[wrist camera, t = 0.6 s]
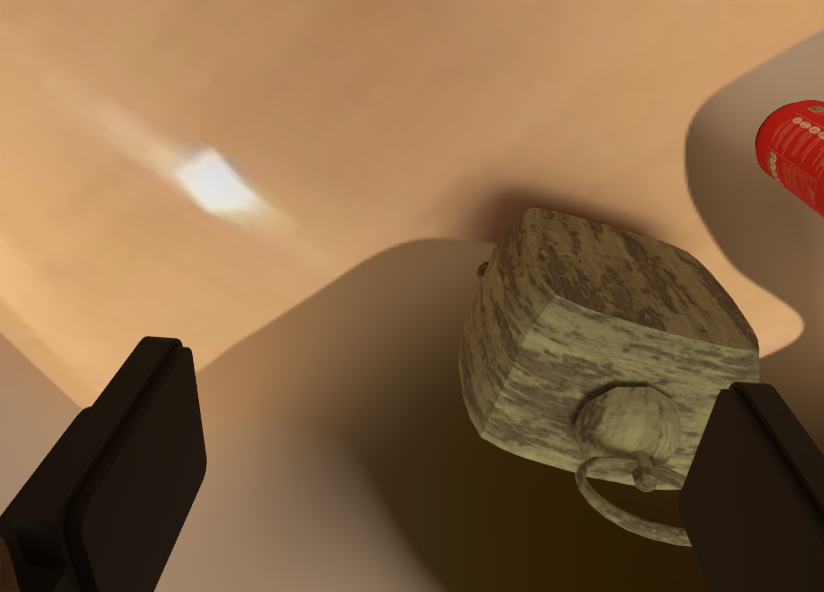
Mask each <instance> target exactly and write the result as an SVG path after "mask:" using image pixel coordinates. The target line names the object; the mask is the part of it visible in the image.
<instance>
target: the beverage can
mask: <svg viewBox="0 0 824 592" xmlns="http://www.w3.org/2000/svg"><path fill="white" fill-rule="evenodd" d="M755 145H756V155H757V160H758V163H759V165H760V166H761V168H762V169H763V170H764V171H765V172H766V173H767V174H768V175H770V176H771V177H772V178H773V179H775V180H776V181H777V182H779V183H780V184H781V185H782V186H784V187H785V188H786V189H788V190H789V191H790V192H791V193H793V194H794V195H795V196H797V197H798V198H799V199H801V200H802V201H803V202H804V203H806V204H807V205H808V206H809V207H811V208H812V209H813V210H815V211H816V212H817V213H818V214H820V215H821V216H822V217H824V102H821V101H816V100H808V101H807V100H806V101H800V102H796V103H792V104H788V105H785V106H783V107H781V108H779V109H777V110H776V111H774V112H773V113H772V114H771V115H769V116H768V117H767V119H766V120H765V121H764V122H763V123H762V125H761V127H760V128H759V130H758V133H757V136H756V142H755Z"/></svg>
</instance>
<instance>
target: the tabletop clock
mask: <svg viewBox="0 0 824 592" xmlns="http://www.w3.org/2000/svg"><path fill="white" fill-rule="evenodd" d="M477 274H478V277H479V279H480V280H481V281H482V282H481V284H480V287H479V289H478V292H477V295H476V297H475V300H474V302H473V305H472V307H471V310H470V313H469V315H468V318H467V320H466V323H465V326H464V328H463V331H462V335H461V342H460V353H459V371H460V377H461V384H462V391H463V397H464V401H465V404H466V408H467V411H468V413H469V416H470V419H471V421H472V422H473V424H474V426H475V427H476V429H477V431H478V433H479V435H480V436H481V437H482V438H484V439H486V440H487V441H489V442H491V443H493V444H495V445H496V446H498V447H500V448H502V449H504V450H506V451H509V452H511V453H514V454H516V455H519V456H521V457H524V458H527V459H531V460H534V461H537V462H541V463H544V464H547V465H550V466H554V467H558V468H561V469H564V470H568V471H571V472H574V473H575V477H576V482H577V485H578V487H579V489H580V491H581V493H582V494H583V496H584V497H585V499H586V500H587V501H588V503H589V504H590V505H592V506H593V507H594V508H595V509H596V510H597V511H598V512H600V513H601V514H602V515H603V516H604V517H605V518H607V519H609V520H610V521H612V522H614V523H615V524H617V525H619V526H621V527H622V528H624V529H626V530H628V531H631V532H633V533H636V534H639V535H641V536H644V537H647V538H649V539H653V540H657V541H662V542H666V543H670V544H674V545H683V546H691V544H690V541H689V539H688V536H687V534H686V531H685V529H680V528H675V527H671V526H667V525H662V524H658V523H654V522H651V521H648V520H645V519H642V518H639V517H636V516H633V515H631V514H629V513H627V512H625V511H623V510H621V509H619V508H617V507H615V506H613V505H612V504H611V503H609V502H608V501H606V500H605V499H604V498H602V497H601V496H600V495H599V494H597V492H596V491H595V490H594V489H593V488H592V487H591V486H590V485H589V483H588V482H587V480H586V476H588V477H591V478H597V479H602V480H607V481H613V482H618V483H624V484H629V485H634V486H636V488H638V489H640V490H642V491H643V492H650V491H652V490H654V489H658V490H676V489H682V487H683V484H684V482H685V479H686V476H687V474H688V471H689V469H690V466H691V463H692V461H693V458H694V456H695V453H696V450H697V448H698V445H699V443H700V440H701V437H702V435H703V432H704V430H705V427H706V424H707V422H708V419H709V417H710V414H711V411H712V409H713V406H714V404H715V401H716V398H717V396H718V394H719V392H720V391H721V390H722V389H728V388H729V386H730V385H731V384H732V383H733V382H750V383H759V345H758V339H757V337H756V335H755V333H754V331H753V329H752V327H751V326H750V324H749V323H748V321H747V320H746V318H745V317H744V315H743V314H742V312H741V311H740V310H739V308H738V307H737V305H736V304H735V302H734V301H733V299H732V298H731V297H730V295H729V294H728V293H727V292H726V291H725V289H724V288H723V287H722V286H721V285H720V284H719V282H718V281H717V280H716V279H715V278H714V276H713V275H712V274H711V273H710V272H709V271H708V270H707V269H706V268H705V267H704V266H703V265H702V264H701V263H700V262H699V261H698V260H697V259H696V258H694V257H693V256H692V255H691V254H689V253H688V252H687V251H684V250H682V249H680V248H677V247H675V246H673V245H670V244H667V243H665V242H662V241H659V240H656V239H653V238H649V237H646V236H643V235H639V234H636V233H633V232H630V231H626V230H623V229H620V228H616V227H613V226H610V225H607V224H603V223H599V222H595V221H591V220H588V219H584V218H580V217H576V216H573V215H569V214H565V213H561V212H557V211H553V210H548V209H543V208H533V207H530V208H529V209H527V210H526V211H525V212H524V213H522V214H521V215H520V216H518V217H517V218H516V219H515V220H513V221H512V222H511V223H509V224H508V225H507V226H506V227H505V228H504V229H503V230H502V231H501V233H500V235H499V238H498V240H497V243H496V245H495V248H494V251H493V253H492V256H491V258H490V261H489V262H484V263H483V264H482V265H480V266H479V269H478V272H477Z"/></svg>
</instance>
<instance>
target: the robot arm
mask: <svg viewBox="0 0 824 592" xmlns="http://www.w3.org/2000/svg"><path fill="white" fill-rule="evenodd" d="M206 459H207V458H206V450H205V443H204V436H203V428H202V421H201V414H200V406H199V399H198V393H197V384H196V377H195V370H194V362H193V355H192V351H191V349H190V348H188V347H183V346H182V343H181V341H180V340H179V339H177V338H164V337H151V336H147V337H144V338H143V339H142V340H141V341H140V342H139V344H138V345H137V346H136V348H135V349H134V350H133V352H132V353H131V354H130V356H129V357H128V358H127V360H126V361H125V362H124V364H123V365H122V366H121V368H120V369H119V370H118V372H117V373H116V374H115V376H114V377H113V378H112V380H111V381H110V382H109V384H108V385H107V386H106V388H105V389H104V391H103V392H102V393H101V395H100V396H99V397H98V399H97V400H96V401H95V403H94V404H93V405H92V407H87V408H85V409H83V410H82V411H81V412H80V413H79V415H77V416H76V418H75V419H74V420H73V422H72V423H71V424H70V426H69V427H68V428H67V430H66V431H65V432H64V434H63V435H62V436H61V438H60V439H59V440H58V441H57V443H56V444H55V445H54V447H53V448H52V449H51V451H50V452H49V453H48V455H47V456H46V457H45V458H44V460H43V461H42V462H41V464H40V465H39V466H38V468H37V469H36V471H35V472H34V473H33V474H32V476H31V477H30V478H29V480H28V481H27V482H26V483H25V485H24V486H23V487H22V489H21V490H20V491H19V493H18V494H17V495H16V497H15V498H14V499H13V500H12V502H11V503H10V504H9V506H8V507H7V508H6V510H5V511H4V512H3V514H2V515H1V516H0V592H154V590H155V588H156V586H157V583H158V581H159V579H160V577H161V574H162V572H163V569H164V567H165V565H166V563H167V561H168V558H169V556H170V554H171V552H172V549H173V547H174V545H175V543H176V540H177V538H178V536H179V533H180V531H181V529H182V527H183V525H184V522H185V520H186V518H187V515H188V513H189V511H190V509H191V506H192V504H193V502H194V499H195V497H196V495H197V493H198V491H199V488H200V486H201V484H202V481H203V479H204V476H205V472H206V465H207V460H206ZM678 511H679V515H680V519H681V521H682V524H683V526H684V529H685V531H686V534H687V536H688V539H689V541H690V544H691V546H692V549H693V551H694V553H695V556H696V558H697V561H698V563H699V566H700V568H701V571H702V573H703V576H704V578H705V581H706V583H707V586H708V588H709V591H710V592H824V455H823V454H822V453H821V452H820V450H819V449H818V447H817V446H816V444H815V443H814V442H813V440H812V439H811V438H810V436H809V435H808V434H807V432H806V431H805V429H804V428H803V427H802V425H801V424H800V422H799V421H798V420H797V418H796V417H795V415H794V414H793V413H792V411H791V410H790V409H789V407H788V406H787V405H786V403H785V402H784V400H783V399H782V397H781V396H780V395H779V393H778V392H777V391H776V389H775V388H774V387H773V386H772V385H769V384H763V383H750V382H733V383H732V384H731V385H730V386H729V388H728V389H722V390H721V391H720V392H719V394H718V396H717V398H716V401H715V404H714V406H713V409H712V411H711V414H710V417H709V419H708V422H707V424H706V427H705V430H704V432H703V435H702V437H701V440H700V443H699V445H698V448H697V450H696V453H695V456H694V458H693V461H692V463H691V466H690V469H689V471H688V474H687V476H686V479H685V482H684V484H683V487H682V489H681V492H680V495H679V499H678Z"/></svg>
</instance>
